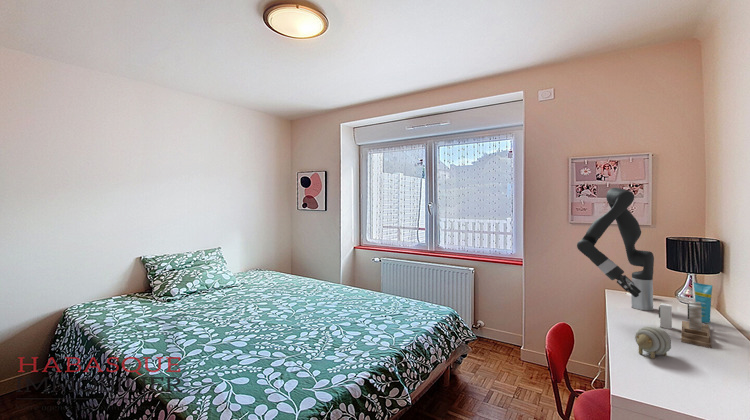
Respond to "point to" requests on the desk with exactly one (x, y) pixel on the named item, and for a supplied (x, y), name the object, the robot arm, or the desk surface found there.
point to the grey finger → (665, 315)
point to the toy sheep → (653, 341)
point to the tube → (704, 300)
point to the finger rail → (696, 335)
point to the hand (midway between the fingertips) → (638, 294)
